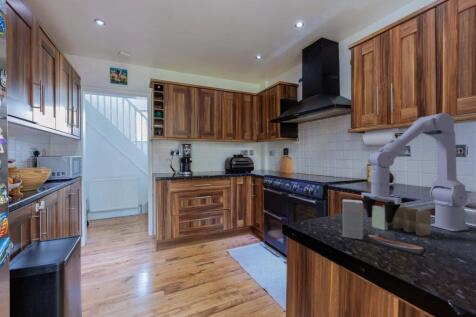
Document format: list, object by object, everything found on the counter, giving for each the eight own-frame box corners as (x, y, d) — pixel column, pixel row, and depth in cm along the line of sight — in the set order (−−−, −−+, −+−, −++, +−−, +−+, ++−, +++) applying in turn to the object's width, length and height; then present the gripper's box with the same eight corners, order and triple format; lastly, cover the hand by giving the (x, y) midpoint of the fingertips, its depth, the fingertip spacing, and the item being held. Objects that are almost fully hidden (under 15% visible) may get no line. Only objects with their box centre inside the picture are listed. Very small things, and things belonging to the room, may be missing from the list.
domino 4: (415, 234, 77) (416, 211, 77) (425, 232, 79) (425, 210, 79) (420, 235, 76) (421, 212, 76) (430, 234, 78) (430, 211, 78)
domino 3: (403, 230, 81) (404, 208, 81) (412, 229, 83) (413, 208, 83) (408, 232, 80) (408, 209, 80) (417, 230, 81) (417, 209, 81)
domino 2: (392, 227, 85) (393, 206, 85) (401, 226, 87) (402, 205, 87) (397, 228, 83) (397, 207, 83) (406, 227, 85) (406, 206, 85)
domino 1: (375, 225, 87) (375, 205, 87) (387, 229, 82) (387, 208, 82) (372, 226, 86) (372, 205, 86) (384, 230, 81) (384, 208, 81)
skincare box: (362, 236, 75) (362, 200, 75) (363, 240, 71) (363, 202, 71) (342, 233, 77) (342, 198, 77) (342, 237, 73) (342, 200, 73)
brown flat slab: (369, 234, 76) (425, 247, 64) (369, 236, 76) (425, 250, 64) (360, 238, 71) (420, 254, 60) (360, 241, 71) (420, 257, 60)
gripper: (356, 182, 90) (355, 215, 89) (391, 186, 76) (391, 226, 76) (368, 181, 92) (368, 214, 92) (405, 185, 78) (405, 224, 78)
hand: (379, 219), depth 84 cm, fingers open, 7 cm apart
